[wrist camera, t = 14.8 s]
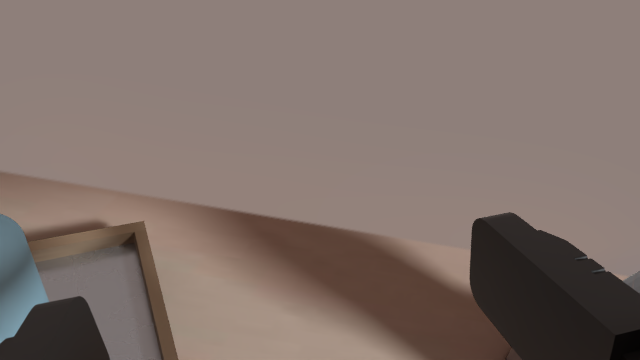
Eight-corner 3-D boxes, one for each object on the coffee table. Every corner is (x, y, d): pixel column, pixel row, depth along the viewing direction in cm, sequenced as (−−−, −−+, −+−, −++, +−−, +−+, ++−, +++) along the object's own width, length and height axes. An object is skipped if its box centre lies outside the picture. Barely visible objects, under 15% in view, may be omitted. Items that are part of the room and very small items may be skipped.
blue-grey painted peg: (70, 341, 30) (22, 202, 18) (77, 400, 28) (29, 285, 16) (-1, 362, 28) (-103, 220, 16) (1, 426, 26) (-114, 317, 14)
